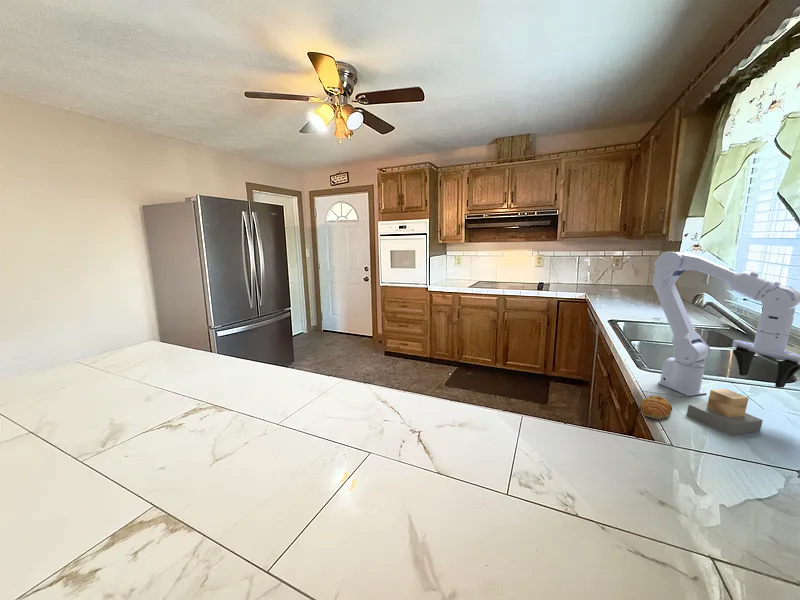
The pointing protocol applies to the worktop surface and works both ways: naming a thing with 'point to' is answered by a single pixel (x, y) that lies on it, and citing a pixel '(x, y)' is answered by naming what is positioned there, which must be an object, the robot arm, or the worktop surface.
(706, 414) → the gray block
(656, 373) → the worktop surface
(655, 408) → the pastry
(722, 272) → the robot arm
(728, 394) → the oak block
